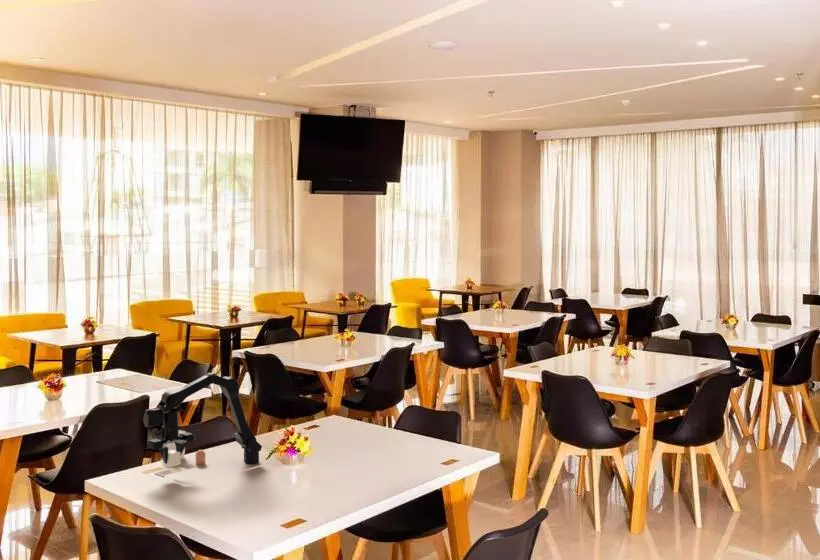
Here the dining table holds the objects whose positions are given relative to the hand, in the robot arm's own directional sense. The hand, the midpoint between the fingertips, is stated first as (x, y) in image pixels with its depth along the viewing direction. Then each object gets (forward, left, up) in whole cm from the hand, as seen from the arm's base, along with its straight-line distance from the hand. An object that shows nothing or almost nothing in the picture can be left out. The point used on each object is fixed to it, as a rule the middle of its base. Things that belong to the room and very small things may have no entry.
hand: (171, 461), depth 325 cm
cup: (+23, -16, -7) cm, 29 cm away
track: (+8, -10, -7) cm, 15 cm away
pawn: (+8, -19, -6) cm, 21 cm away
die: (0, 0, -1) cm, 1 cm away
